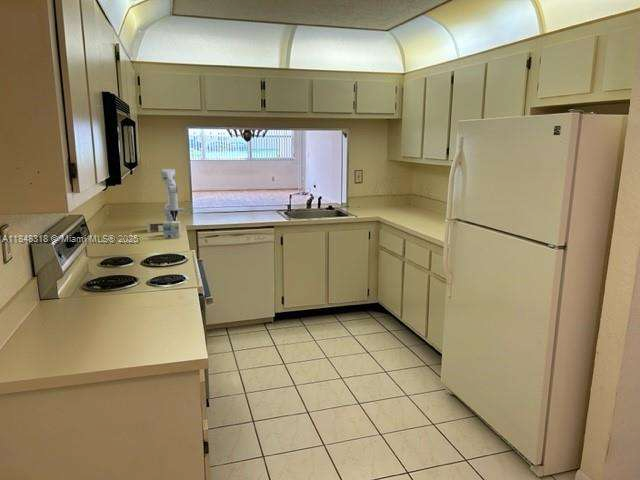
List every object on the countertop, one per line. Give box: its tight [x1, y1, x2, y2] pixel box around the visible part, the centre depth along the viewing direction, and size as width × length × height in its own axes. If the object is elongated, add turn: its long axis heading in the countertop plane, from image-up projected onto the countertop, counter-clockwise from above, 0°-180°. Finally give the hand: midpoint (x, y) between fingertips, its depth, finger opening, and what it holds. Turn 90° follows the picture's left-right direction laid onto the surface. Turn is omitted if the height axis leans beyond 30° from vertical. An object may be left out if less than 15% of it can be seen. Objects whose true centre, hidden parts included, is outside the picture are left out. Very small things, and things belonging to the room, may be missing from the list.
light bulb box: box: [162, 220, 181, 239], centre depth 325 cm, size 11×7×11 cm, turn 101°
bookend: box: [146, 218, 151, 234], centre depth 337 cm, size 10×2×8 cm, turn 18°
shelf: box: [149, 222, 164, 234], centre depth 341 cm, size 12×18×6 cm
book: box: [157, 225, 164, 233], centre depth 340 cm, size 8×5×3 cm, turn 18°
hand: (174, 221), depth 342 cm, fingers closed
